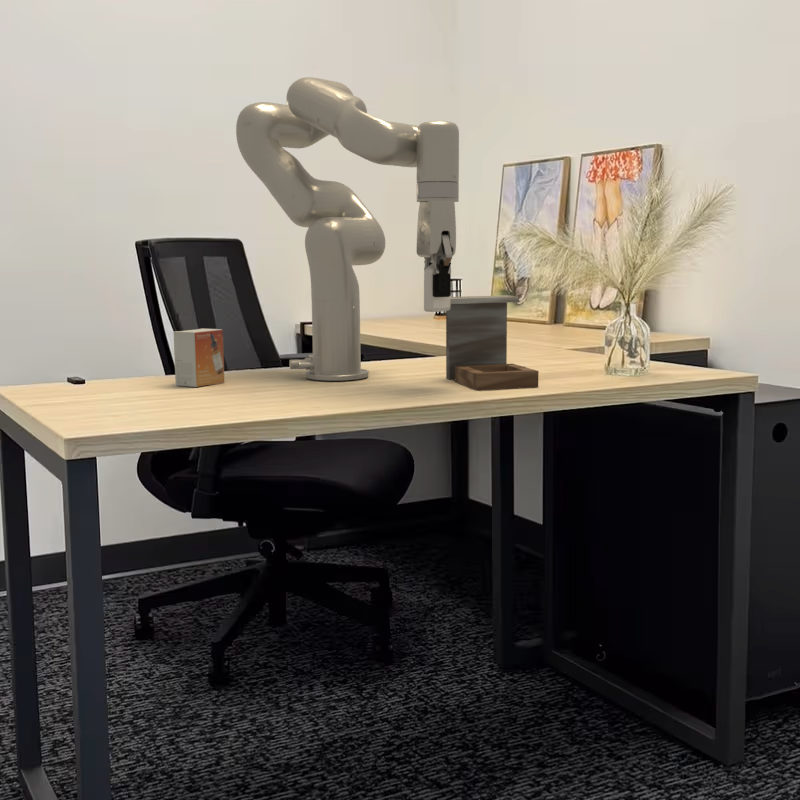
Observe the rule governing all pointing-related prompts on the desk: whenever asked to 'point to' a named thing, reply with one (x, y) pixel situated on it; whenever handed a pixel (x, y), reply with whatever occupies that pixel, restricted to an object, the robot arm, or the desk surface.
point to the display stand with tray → (482, 345)
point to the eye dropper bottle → (429, 301)
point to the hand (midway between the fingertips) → (437, 294)
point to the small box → (199, 357)
